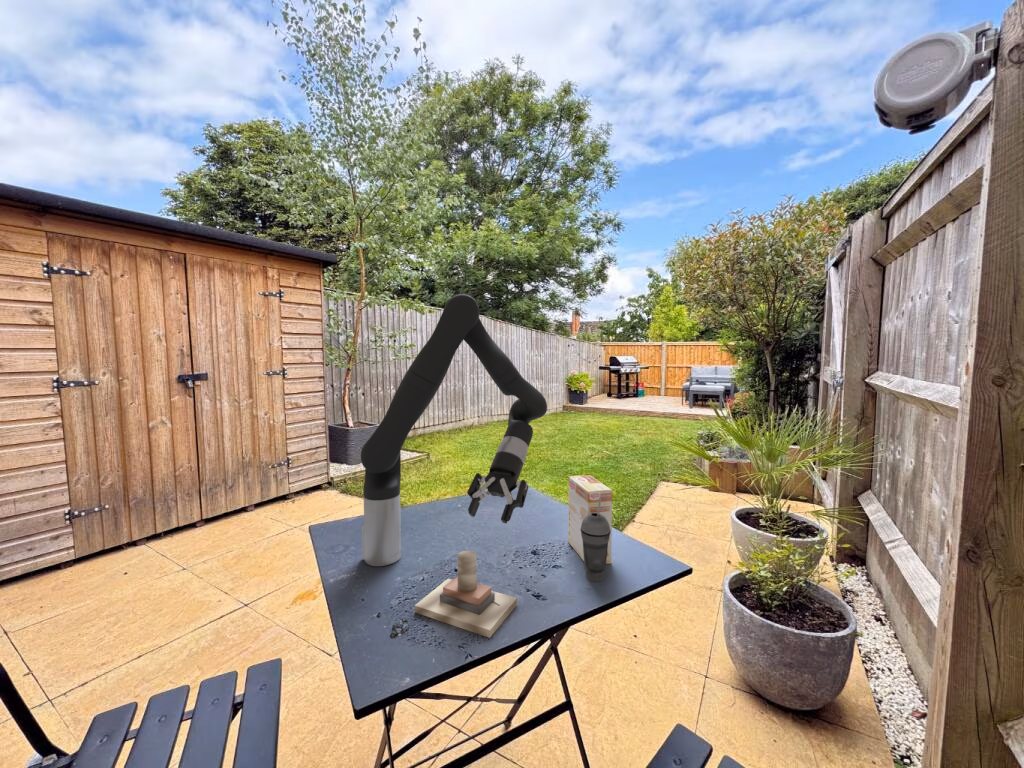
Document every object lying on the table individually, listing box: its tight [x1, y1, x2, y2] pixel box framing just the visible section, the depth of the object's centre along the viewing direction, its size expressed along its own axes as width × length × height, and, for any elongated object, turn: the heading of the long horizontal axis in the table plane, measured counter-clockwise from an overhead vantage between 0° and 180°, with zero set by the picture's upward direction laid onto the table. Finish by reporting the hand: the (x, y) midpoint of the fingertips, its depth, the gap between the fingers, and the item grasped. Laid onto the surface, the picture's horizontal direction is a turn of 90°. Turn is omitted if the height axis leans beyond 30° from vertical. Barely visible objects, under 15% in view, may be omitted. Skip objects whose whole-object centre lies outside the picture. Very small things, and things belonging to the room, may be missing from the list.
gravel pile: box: [383, 617, 410, 639], centre depth 82 cm, size 7×8×2 cm
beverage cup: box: [580, 497, 611, 582], centre depth 101 cm, size 7×7×20 cm
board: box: [414, 578, 518, 638], centre depth 88 cm, size 18×12×2 cm, turn 64°
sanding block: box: [440, 550, 495, 615], centre depth 88 cm, size 10×6×10 cm, turn 62°
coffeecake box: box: [567, 474, 613, 565], centre depth 114 cm, size 15×7×20 cm, turn 12°
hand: (487, 518), depth 95 cm, fingers open, 8 cm apart
